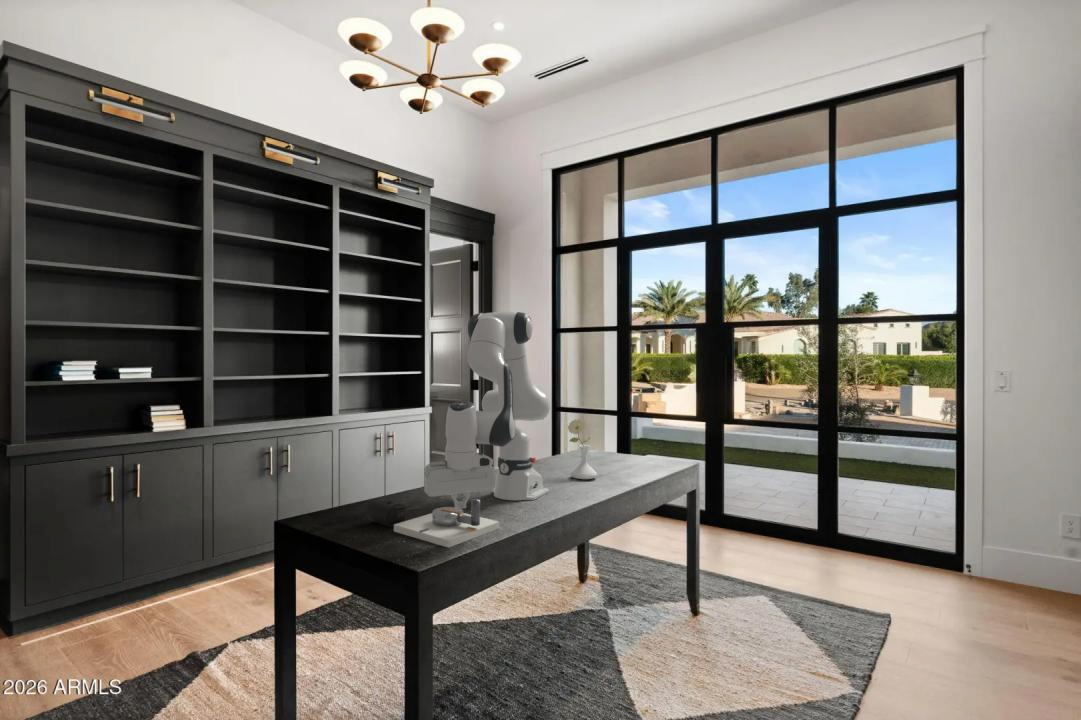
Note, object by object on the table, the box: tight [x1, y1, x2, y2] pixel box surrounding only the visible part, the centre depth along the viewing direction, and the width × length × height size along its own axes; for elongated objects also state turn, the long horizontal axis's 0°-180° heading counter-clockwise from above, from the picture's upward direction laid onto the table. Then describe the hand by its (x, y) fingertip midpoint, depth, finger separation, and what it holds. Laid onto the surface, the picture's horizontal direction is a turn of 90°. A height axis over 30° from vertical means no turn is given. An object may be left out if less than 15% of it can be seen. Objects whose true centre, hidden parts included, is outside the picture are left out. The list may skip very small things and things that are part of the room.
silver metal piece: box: [431, 498, 481, 526], centre depth 175 cm, size 16×9×8 cm, turn 61°
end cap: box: [366, 499, 406, 529], centre depth 181 cm, size 10×7×7 cm
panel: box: [393, 512, 500, 549], centre depth 177 cm, size 22×22×2 cm
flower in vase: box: [567, 418, 598, 480], centre depth 250 cm, size 13×11×25 cm
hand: (460, 508), depth 168 cm, fingers closed
